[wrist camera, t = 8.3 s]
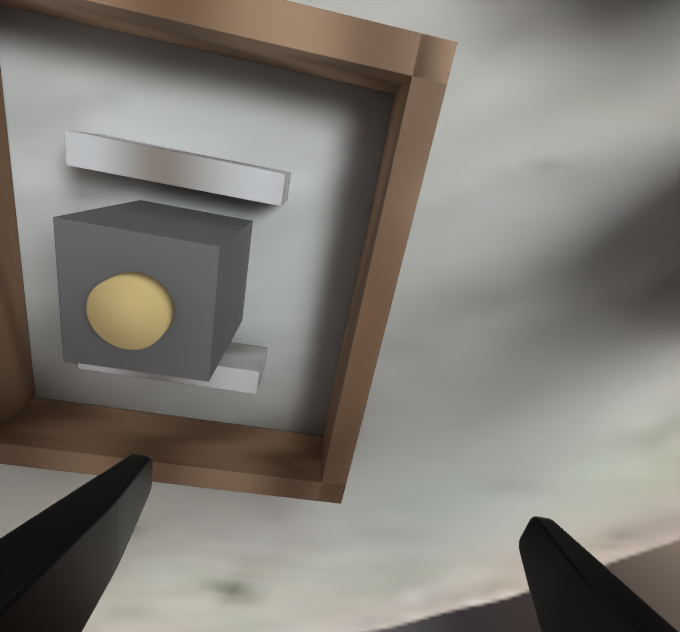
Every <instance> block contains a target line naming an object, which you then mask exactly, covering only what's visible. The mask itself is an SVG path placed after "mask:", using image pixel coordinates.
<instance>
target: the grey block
mask: <svg viewBox="0 0 680 632" xmlns="http://www.w3.org/2000/svg"><path fill="white" fill-rule="evenodd" d="M53 222H54V235H55V249H56V262H57V276H58V289H59V303H60V316H61V329H62V343H63V356H64V361H67V362H74V363H81V364H88V365H95V366H102V367H109V368H116V369H123V370H130V371H137V372H144V373H151V374H158V375H165V376H172V377H179V378H186V379H193V380H200V381H207V382H209V381H210V379H211V377H212V375H213V373H214V371H215V370H216V368H217V366H218V364H219V362H220V360H221V358H222V357H223V355H224V353H225V351H226V349H227V347H228V345H229V344H230V342H231V340H232V338H233V336H234V334H235V332H236V331H237V329H238V327H239V325H240V323H241V321H242V316H243V307H244V298H245V288H246V279H247V270H248V260H249V251H250V242H251V232H252V223H253V221H250V220H244V219H239V218H234V217H228V216H223V215H217V214H212V213H207V212H201V211H196V210H190V209H185V208H180V207H174V206H169V205H164V204H158V203H153V202H147V201H142V200H139V201H134V202H129V203H124V204H119V205H114V206H108V207H103V208H98V209H93V210H88V211H83V212H77V213H72V214H67V215H62V216H57V217H53Z"/></svg>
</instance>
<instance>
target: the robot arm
mask: <svg viewBox="0 0 680 632" xmlns="http://www.w3.org/2000/svg"><path fill="white" fill-rule="evenodd" d="M152 469H153V459H152V457H151V456H149V455H143V454H136V453H135V454H131V455H129V456H128V457H126V458H125V459H123V460H121V461H120V462H118V463H117V464H115V465H114V466H112V467H111V468H109V469H107V470H106V471H104V472H103V473H101V474H100V475H98V476H97V477H95V478H93V479H92V480H90V481H89V482H87V483H86V484H84V485H83V486H81V487H79V488H78V489H76V490H75V491H73V492H72V493H70V494H69V495H67V496H65V497H64V498H62V499H61V500H59V501H58V502H56V503H55V504H53V505H51V506H50V507H48V508H47V509H45V510H44V511H42V512H41V513H39V514H38V515H36V516H34V517H33V518H31V519H30V520H28V521H27V522H25V523H24V524H22V525H20V526H19V527H17V528H16V529H14V530H13V531H11V532H10V533H8V534H6V535H5V536H3V537H2V538H0V632H82V630H83V628H84V627H85V625H86V623H87V621H88V619H89V618H90V616H91V614H92V612H93V610H94V609H95V607H96V605H97V603H98V601H99V600H100V598H101V596H102V594H103V592H104V591H105V589H106V587H107V585H108V583H109V582H110V580H111V578H112V576H113V574H114V572H115V570H116V568H117V567H118V564H119V562H120V560H121V558H122V556H123V553H124V551H125V549H126V546H127V544H128V542H129V540H130V537H131V535H132V533H133V530H134V528H135V526H136V523H137V521H138V519H139V516H140V514H141V512H142V510H143V507H144V505H145V503H146V500H147V498H148V496H149V493H150V490H151V486H152ZM519 551H520V555H521V559H522V563H523V567H524V570H525V574H526V578H527V582H528V586H529V590H530V594H531V598H532V602H533V605H534V609H535V613H536V616H537V620H538V623H539V626H540V629H541V632H678V631H677V630H676V629H675V628H674V627H673V626H672V625H671V624H669V623H668V622H667V621H666V620H665V619H664V618H663V617H662V616H660V615H659V614H658V613H657V612H656V611H655V610H654V609H652V608H651V607H650V606H649V605H648V604H647V603H646V602H645V601H643V600H642V599H641V598H640V597H639V596H638V595H637V594H636V593H634V592H633V591H632V590H631V589H630V588H629V587H628V586H626V585H625V584H624V583H623V582H622V581H621V580H620V579H619V578H617V577H616V576H615V575H614V574H613V573H612V572H611V571H610V570H608V569H607V568H606V567H605V566H604V565H603V564H602V563H600V562H599V561H598V560H597V559H596V558H595V557H594V556H593V555H591V554H590V553H589V552H588V551H587V550H586V549H585V548H584V547H582V546H581V545H580V544H579V543H578V542H577V541H576V540H574V539H573V538H572V537H571V536H570V535H569V534H568V533H567V532H565V531H564V530H563V529H562V528H561V527H560V526H559V525H558V524H556V523H555V522H554V521H553V520H551V519H549V518H544V517H537V516H534V517H532V518H531V519H530V521H529V523H528V524H527V526H526V528H525V530H524V532H523V534H522V536H521V538H520V540H519Z"/></svg>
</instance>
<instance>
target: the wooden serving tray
mask: <svg viewBox="0 0 680 632" xmlns="http://www.w3.org/2000/svg"><path fill="white" fill-rule="evenodd" d="M0 5H4V6H9V7H13V8H18V9H22V10H26V11H31V12H35V13H40V14H44V15H48V16H53V17H57V18H62V19H66V20H71V21H75V22H79V23H84V24H88V25H93V26H97V27H101V28H106V29H110V30H115V31H119V32H123V33H128V34H132V35H137V36H141V37H146V38H150V39H154V40H159V41H163V42H168V43H172V44H176V45H181V46H185V47H190V48H194V49H198V50H203V51H207V52H212V53H216V54H221V55H225V56H229V57H234V58H238V59H243V60H247V61H251V62H256V63H260V64H265V65H269V66H273V67H278V68H282V69H287V70H291V71H296V72H300V73H304V74H309V75H313V76H318V77H322V78H326V79H331V80H335V81H340V82H344V83H349V84H353V85H357V86H362V87H366V88H371V89H375V90H379V91H384V92H388V93H393V94H395V96H394V101H393V105H392V110H391V115H390V119H389V124H388V129H387V134H386V138H385V143H384V148H383V152H382V157H381V162H380V167H379V171H378V176H377V181H376V185H375V190H374V195H373V200H372V204H371V209H370V214H369V218H368V223H367V228H366V233H365V237H364V242H363V247H362V251H361V256H360V261H359V266H358V270H357V275H356V280H355V284H354V289H353V294H352V299H351V303H350V308H349V313H348V317H347V322H346V327H345V332H344V336H343V341H342V346H341V350H340V355H339V360H338V365H337V369H336V374H335V379H334V383H333V388H332V393H331V398H330V402H329V407H328V412H327V416H326V421H325V426H324V431H323V435H322V436H318V435H310V434H303V433H296V432H288V431H281V430H273V429H266V428H258V427H251V426H243V425H236V424H229V423H221V422H214V421H206V420H199V419H191V418H184V417H176V416H169V415H161V414H154V413H147V412H139V411H132V410H124V409H117V408H109V407H102V406H94V405H87V404H79V403H72V402H65V401H57V400H50V399H42V398H35V390H34V381H33V371H32V362H31V352H30V343H29V333H28V324H27V315H26V305H25V296H24V286H23V277H22V267H21V258H20V249H19V239H18V230H17V220H16V211H15V201H14V192H13V183H12V173H11V164H10V154H9V145H8V135H7V126H6V116H5V107H4V98H3V88H2V79H1V69H0V464H8V465H16V466H25V467H33V468H42V469H50V470H59V471H67V472H76V473H84V474H93V475H100V474H101V473H103V472H104V471H106V470H107V469H109V468H111V467H112V466H114V465H115V464H117V463H118V462H120V461H121V460H123V459H125V458H126V457H128V456H129V455H131V454H135V453H136V454H143V455H149V456H151V457H152V459H153V469H152V481H153V482H161V483H170V484H178V485H187V486H195V487H204V488H212V489H221V490H229V491H238V492H246V493H255V494H263V495H272V496H281V497H289V498H298V499H306V500H315V501H323V502H332V503H340V504H341V502H342V498H343V494H344V490H345V486H346V482H347V478H348V474H349V470H350V466H351V462H352V458H353V454H354V450H355V446H356V442H357V438H358V434H359V430H360V426H361V422H362V419H363V415H364V411H365V407H366V403H367V399H368V395H369V391H370V387H371V383H372V379H373V375H374V371H375V367H376V363H377V359H378V355H379V351H380V347H381V343H382V339H383V335H384V331H385V327H386V323H387V319H388V315H389V311H390V307H391V304H392V300H393V296H394V292H395V288H396V284H397V280H398V276H399V272H400V268H401V264H402V260H403V256H404V252H405V248H406V244H407V240H408V236H409V232H410V228H411V224H412V220H413V216H414V212H415V208H416V204H417V200H418V196H419V193H420V189H421V185H422V181H423V177H424V173H425V169H426V165H427V161H428V157H429V153H430V149H431V145H432V141H433V137H434V133H435V129H436V125H437V121H438V117H439V113H440V109H441V105H442V101H443V97H444V93H445V89H446V85H447V81H448V78H449V74H450V70H451V66H452V62H453V58H454V54H455V50H456V46H457V42H454V41H450V40H446V39H442V38H438V37H434V36H430V35H426V34H422V33H418V32H413V31H409V30H405V29H401V28H397V27H393V26H389V25H385V24H381V23H377V22H372V21H368V20H364V19H360V18H356V17H352V16H348V15H344V14H340V13H336V12H332V11H327V10H323V9H319V8H315V7H311V6H307V5H303V4H299V3H295V2H291V1H286V0H0ZM64 133H65V150H66V165H69V166H74V167H80V168H85V169H90V170H95V171H100V172H106V173H111V174H116V175H121V176H127V177H132V178H137V179H142V180H147V181H153V182H158V183H163V184H168V185H174V186H179V187H184V188H189V189H194V190H200V191H205V192H210V193H215V194H221V195H226V196H231V197H236V198H241V199H247V200H252V201H257V202H262V203H268V204H273V205H278V206H282V205H283V204H284V203H285V202H286V201H287V197H288V190H289V182H290V175H291V173H289V172H284V171H279V170H274V169H269V168H264V167H259V166H255V165H250V164H245V163H240V162H235V161H230V160H225V159H220V158H215V157H210V156H205V155H200V154H195V153H190V152H185V151H180V150H175V149H170V148H165V147H160V146H155V145H150V144H145V143H140V142H135V141H130V140H125V139H120V138H115V137H110V136H105V135H99V134H91V133H84V132H76V131H69V130H64ZM266 351H267V348H264V347H257V346H251V345H245V344H238V343H232V342H230V344H229V345H228V347H227V349H226V351H225V353H224V355H223V357H222V358H221V360H220V362H219V364H218V366H217V368H216V370H215V371H214V373H213V375H212V377H211V379H210V381H209V382H207V381H200V380H193V379H186V378H179V377H172V376H165V375H158V374H151V373H144V372H137V371H130V370H123V369H116V368H109V367H102V366H95V365H88V364H81V363H78V369H85V370H92V371H99V372H106V373H113V374H120V375H127V376H134V377H141V378H148V379H155V380H162V381H169V382H176V383H183V384H190V385H197V386H204V387H211V388H218V389H225V390H232V391H239V392H246V393H253V394H256V393H257V390H258V387H259V383H260V380H261V377H262V374H263V370H264V366H265V358H266Z"/></svg>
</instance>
